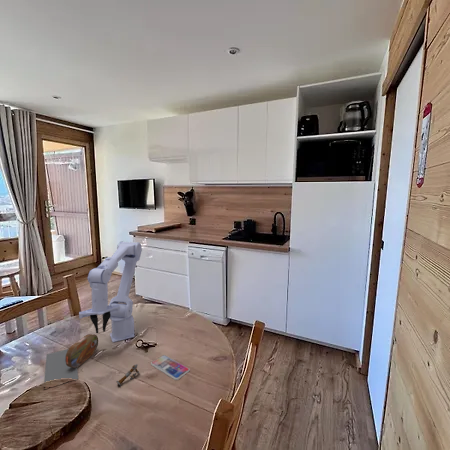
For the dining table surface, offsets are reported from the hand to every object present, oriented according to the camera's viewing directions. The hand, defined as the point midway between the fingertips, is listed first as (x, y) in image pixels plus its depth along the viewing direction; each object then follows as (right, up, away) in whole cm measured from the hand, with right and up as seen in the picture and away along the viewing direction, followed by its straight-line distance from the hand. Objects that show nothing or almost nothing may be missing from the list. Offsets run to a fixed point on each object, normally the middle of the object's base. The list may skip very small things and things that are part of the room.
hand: (100, 331), depth 103 cm
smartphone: (+29, -12, -5) cm, 32 cm away
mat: (-12, -11, -6) cm, 17 cm away
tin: (-6, -11, -2) cm, 12 cm away
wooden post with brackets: (+15, -13, -12) cm, 23 cm away
